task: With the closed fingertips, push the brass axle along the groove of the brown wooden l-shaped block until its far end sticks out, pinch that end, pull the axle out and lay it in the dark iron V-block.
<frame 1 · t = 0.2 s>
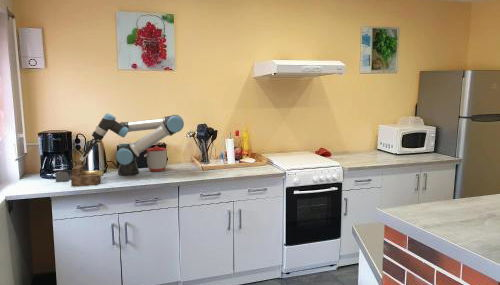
hand: (82, 158, 260), 15 cm above the counter, tool tilted 35°, fingers open, 13 cm apart
brown wooden l-shaped block: (86, 183, 252), on the counter
v block: (63, 180, 261), on the counter
axle: (90, 173, 251), point 7 cm above the counter, touching brown wooden l-shaped block
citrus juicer: (156, 170, 292), on the counter
coffee mug: (68, 173, 281), on the counter
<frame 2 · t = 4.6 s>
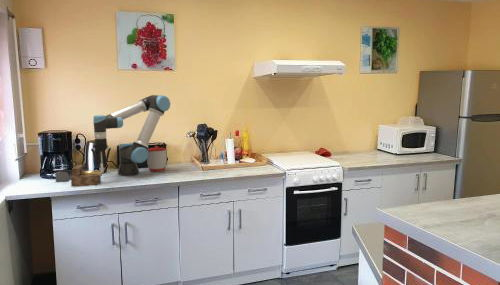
hand: (102, 172, 252), 8 cm above the counter, tool pointing down, fingers closed
axle: (88, 173, 251), point 7 cm above the counter, tilted 10°, touching gripper
everything else where it was.
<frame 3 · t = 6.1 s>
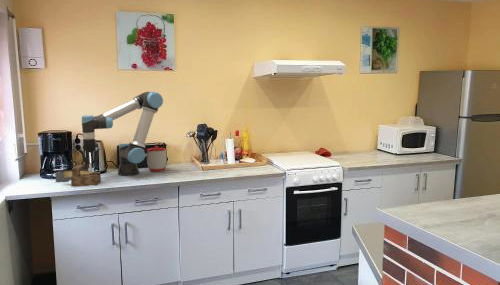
hand: (91, 172, 251), 7 cm above the counter, tool pointing down, fingers closed
axle: (77, 174, 249), point 7 cm above the counter, tilted 10°, touching gripper
everything else where it was.
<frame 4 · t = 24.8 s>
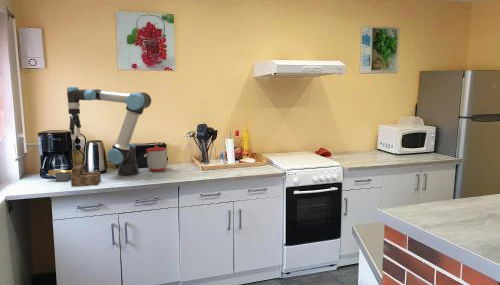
hand: (76, 137, 269), 29 cm above the counter, tool pointing down, fingers open, 13 cm apart
axle: (61, 172, 260), point 5 cm above the counter, touching v block
everything else where it was.
at the end: axle 0.7 cm off-centre on the v block, point 5.5 cm above the v block's base; axle touching v block; the gripper is holding nothing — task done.
